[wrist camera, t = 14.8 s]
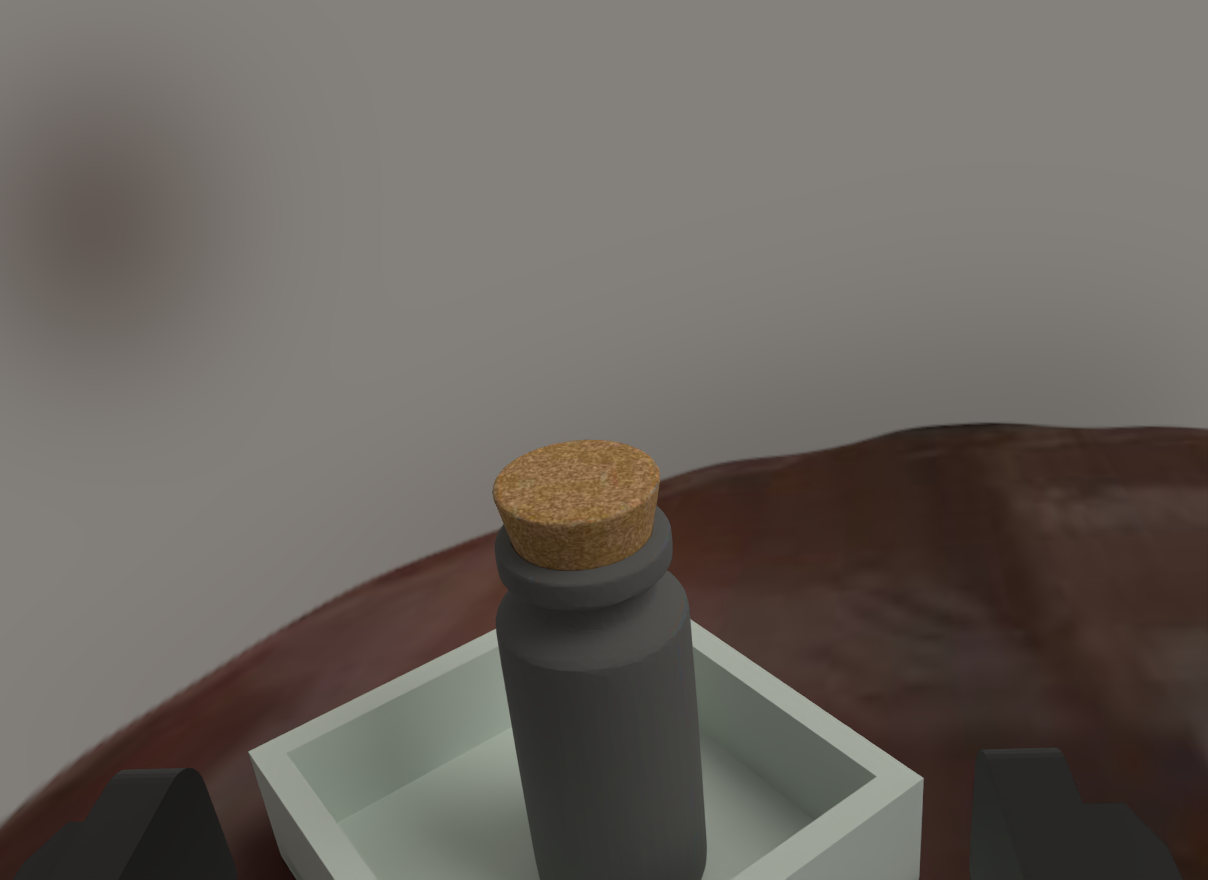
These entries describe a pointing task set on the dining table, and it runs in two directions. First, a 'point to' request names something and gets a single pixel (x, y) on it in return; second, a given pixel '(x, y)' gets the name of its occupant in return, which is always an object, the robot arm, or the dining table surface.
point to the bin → (496, 801)
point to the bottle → (599, 666)
